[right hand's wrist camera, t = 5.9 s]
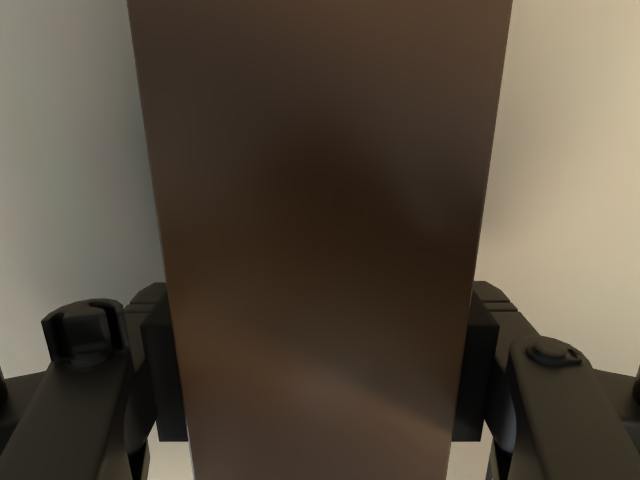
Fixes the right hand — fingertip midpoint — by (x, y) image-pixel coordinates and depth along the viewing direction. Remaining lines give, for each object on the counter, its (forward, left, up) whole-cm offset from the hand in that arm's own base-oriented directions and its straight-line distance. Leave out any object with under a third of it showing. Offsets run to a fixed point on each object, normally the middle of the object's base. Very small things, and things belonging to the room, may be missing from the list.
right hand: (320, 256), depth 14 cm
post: (+17, -19, -1) cm, 25 cm away
